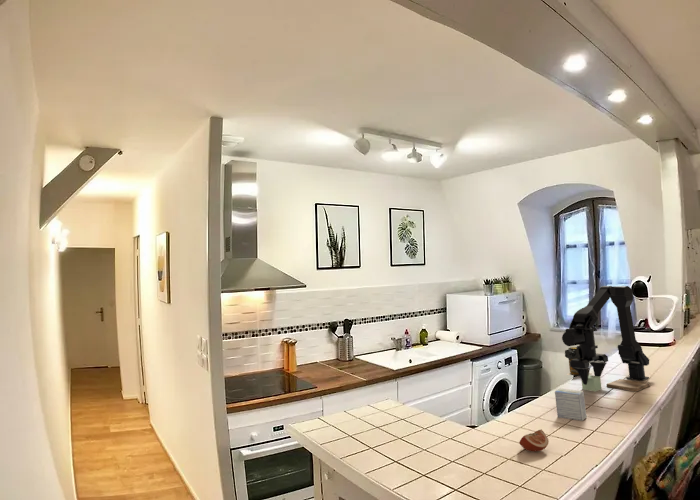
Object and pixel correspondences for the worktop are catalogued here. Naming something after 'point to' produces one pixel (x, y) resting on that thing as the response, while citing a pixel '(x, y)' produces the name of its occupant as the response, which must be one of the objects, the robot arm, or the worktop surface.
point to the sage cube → (592, 383)
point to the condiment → (572, 371)
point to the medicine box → (570, 404)
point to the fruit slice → (534, 441)
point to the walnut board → (628, 385)
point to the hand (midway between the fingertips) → (591, 382)
